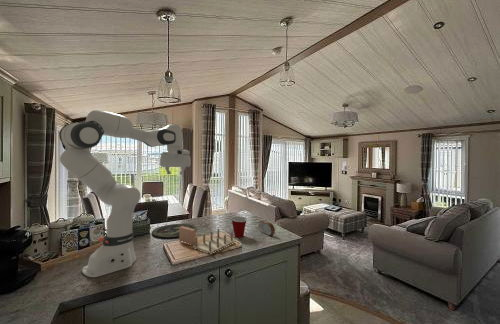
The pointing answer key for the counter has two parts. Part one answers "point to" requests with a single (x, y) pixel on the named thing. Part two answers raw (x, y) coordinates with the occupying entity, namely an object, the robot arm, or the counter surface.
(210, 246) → the dish rack
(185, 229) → the terracotta tile
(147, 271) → the counter surface
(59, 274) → the counter surface
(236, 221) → the plastic cup
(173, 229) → the decorative plate
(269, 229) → the tin
